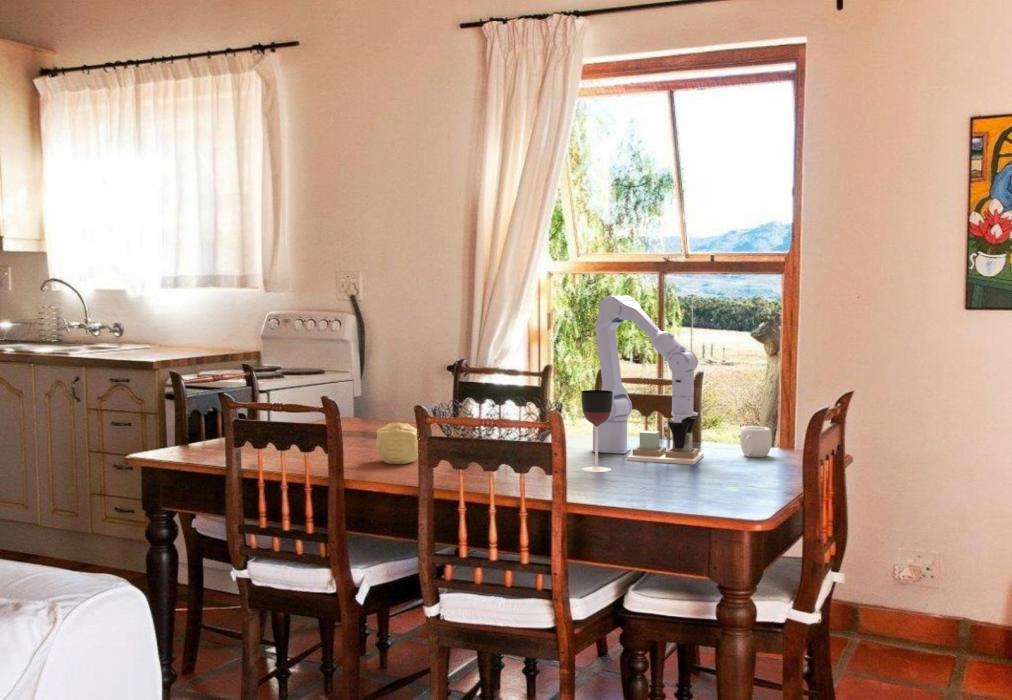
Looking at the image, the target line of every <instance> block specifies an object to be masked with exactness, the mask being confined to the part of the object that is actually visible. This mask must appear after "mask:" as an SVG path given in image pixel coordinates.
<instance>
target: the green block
mask: <svg viewBox="0 0 1012 700" xmlns="http://www.w3.org/2000/svg"><path fill="white" fill-rule="evenodd" d="M671 447H672V451H675V452H692V448H693V432H692V433H686V437H685V444H684V448H683V449H682V448H675V444H674V439H673V438H672V446H671Z"/></svg>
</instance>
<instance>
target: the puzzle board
mask: <svg viewBox="0 0 1012 700" xmlns="http://www.w3.org/2000/svg"><path fill="white" fill-rule="evenodd" d="M660 436H661V435H660V430H641V431H639V445H637V446H636V447H635V448H633V449H632V453H631V454H629V455H627V456H626V461H633V462H634V461H635V462H649V463H661V464H663V463H665V464H680V465H695V464H696V463H698V462H699V460H701V459H702V458H703V457H704V452H700V449H699V448H693V447H692V452H675V451H672V446H671V447H669V448H668V449H667V447H666V446H660V439H661V437H660Z"/></svg>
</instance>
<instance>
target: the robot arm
mask: <svg viewBox="0 0 1012 700" xmlns="http://www.w3.org/2000/svg"><path fill="white" fill-rule="evenodd" d="M597 310H598V314H597V318H596V322H595V325H594V326H595V334H596V336H595V337H596V342H597V353H598V359H599V367H600V376H601V383H602V388H601V390H607V391H612V392H613V399H612V409H611V413H610V416H609V418H608V419H607V420H606V421H605V422H604V423H602V424H600V425H599V426H598V453H608V454H626V453H628V452H630V451H631V450H632V448H631V447H628V420H629V418H628V417H629V415H630V414H631V412H632V410H633V403H632V400H631V399H630V397H629V394H628V390H627V388H625V387H624V386H623V381H622V373H621V366H620V365H621V364H620V357H619V350H618V342H617V335H616V330H617V329H618V327H619V326H620V325H621V324H622V323H623V322H624V321H629V322H632V323H634V325H636V326H637V327H638V328H639V329H640V331H642V333H644V334H645V335H646V336H648V337H649V338H650V339H651V340H652V343H651V345H652V347H653V349H654V350H655V351H657V352H658V353H659V355H660V356H662V357H663V359H664V360H665V361H666V362H667V364H668V365H667V366H668V368H669V370H670V371H671V374H672V375H671V377H672V379H671V380H672V384H671V385H672V387H671V391H672V393H671V396H672V397H671V412H670V413H671V414H670V415H671V416H672V417H673V418H672V419H673V420H669V421H668V422H667V425H668V427H669V429H670V431H671V434H672V440H673V439H674V444H675V448H682V449H683V448H684V444H685V437H686V433H692V434H693V430H694V429H693V428H694V426H695V423H696V422H697V417H696V416H698V414H699V412H696V411H694V402H695V401H694V396H695V395H694V394H695V393H694V392H695V386H694V385H695V382H694V381H695V378H694V376H695V370H696V369H697V367H698V363H699V360H698V357H697V356H696V354H695V353H694V351H691V350H686V349H687V348H686V347H685V345H682V344H681V343H679V341H677V340H676V338H675V334H673V333H672V332H669V331H666V330H665V331H662V330H661V329H660V328H659V327H658V325H656V323H655V322H654V321H653V320H652V319H651V318H650V317H649V315H648V314H647V313H646V312H645V311H644V310H643V309H642V307H641V305H640V304H639V302H638V301H636V300H635V299H634V298H633V297H632V296H630V295H607V296H605V297H604V298H603V299H602V301H600V302H599V304H598V306H597ZM592 425H593V424H592ZM591 452H593V453H595V425H593V427H592V450H591Z"/></svg>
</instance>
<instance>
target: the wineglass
mask: <svg viewBox="0 0 1012 700" xmlns="http://www.w3.org/2000/svg"><path fill="white" fill-rule="evenodd" d="M580 392H581V393H580V397H581V409H582V413H583V416H584V418H585V420H587V421H588V422H589V423H591V424H592V425H595V452H594V466H587V467H582V468H581V470H582V471H584V472H591V473H603V472H605V473H606V472H610V471H612V469H611V468H609V467H605V466H599V452H598V426H599V425H600V424H602V423H604V422H605V421H606V420H607V419H608V418H609V416H610V413H611V409H612V399H613V392H612V391H607V390H602V389H587V390H586V389H585V390H582V391H580Z"/></svg>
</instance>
